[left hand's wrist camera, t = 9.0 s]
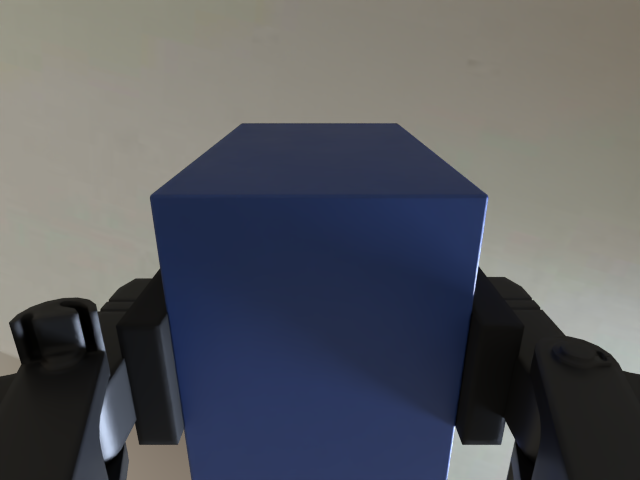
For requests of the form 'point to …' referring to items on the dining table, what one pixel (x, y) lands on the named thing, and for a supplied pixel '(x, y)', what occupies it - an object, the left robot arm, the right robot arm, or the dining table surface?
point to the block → (319, 301)
